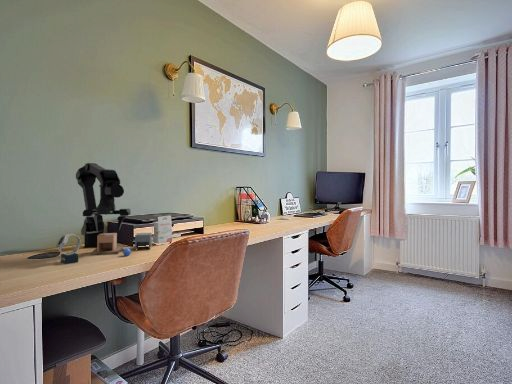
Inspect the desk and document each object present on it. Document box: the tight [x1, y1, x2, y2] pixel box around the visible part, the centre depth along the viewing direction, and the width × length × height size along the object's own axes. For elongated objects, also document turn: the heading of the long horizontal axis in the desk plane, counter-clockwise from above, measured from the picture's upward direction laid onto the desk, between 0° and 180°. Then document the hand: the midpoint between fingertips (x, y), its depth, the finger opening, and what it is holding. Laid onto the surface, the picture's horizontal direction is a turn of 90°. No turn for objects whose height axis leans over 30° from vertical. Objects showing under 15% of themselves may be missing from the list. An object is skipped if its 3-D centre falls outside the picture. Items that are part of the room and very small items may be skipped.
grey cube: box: [134, 232, 153, 250], centre depth 139 cm, size 7×7×7 cm
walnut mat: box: [89, 246, 124, 256], centre depth 131 cm, size 11×11×1 cm
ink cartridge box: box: [152, 215, 173, 244], centre depth 150 cm, size 9×5×15 cm, turn 143°
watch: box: [56, 233, 82, 265], centre depth 113 cm, size 6×8×11 cm
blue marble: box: [122, 247, 132, 257], centre depth 124 cm, size 3×3×3 cm
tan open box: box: [96, 232, 118, 252], centre depth 131 cm, size 7×7×7 cm
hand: (107, 231), depth 131 cm, fingers open, 9 cm apart
